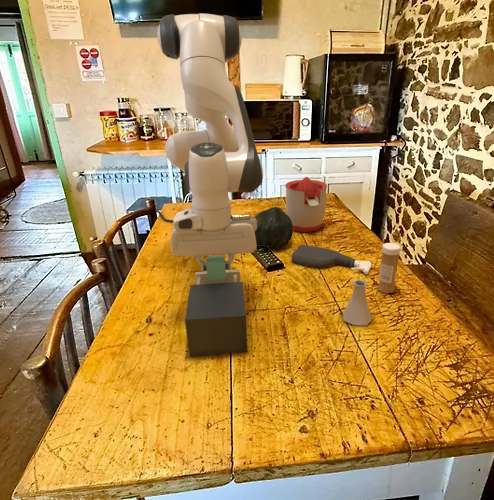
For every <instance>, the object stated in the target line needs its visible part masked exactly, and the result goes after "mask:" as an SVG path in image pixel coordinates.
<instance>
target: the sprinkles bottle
mask: <svg viewBox="0 0 494 500" xmlns="http://www.w3.org/2000/svg"><path fill="white" fill-rule="evenodd" d="M381 247H382V249H381V254H382V255H381V261H380V270H379V282H378V287H377V289H378V290H379V292H381V293H384V294H392V293H394V292H395V291H396V281H397V274H398V266H399V264H398V263H399V257H400V254H401V246H400V245H399V244H398V243H394V242H385V243H383V244H382V246H381Z"/></svg>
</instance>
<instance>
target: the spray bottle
mask: <svg viewBox="0 0 494 500" xmlns="http://www.w3.org/2000/svg"><path fill="white" fill-rule="evenodd" d="M291 262H293V263H294V264H297V265H300V266H306V267H310V268H315V269H316V268H317V269H326V268H331V267H333V266H335V265H340V266H345V267H350V270H352V271H362V272H363V274H364V275H367V274H368V273H369V272H370V270H371V268H372V262H371V261H370V260H358V259H355V258H353V257H351V256H349V255H346V254H343V253H341V252H339V251H336V250H333V249H330V248H325V247H320V246H315V245H308V244H300V245H299V246H298V247H297V248H296V249H295V250H294V251H293V252H292V254H291Z"/></svg>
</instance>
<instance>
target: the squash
mask: <svg viewBox="0 0 494 500" xmlns="http://www.w3.org/2000/svg"><path fill="white" fill-rule="evenodd" d="M254 217H255V218H256V220H257V229H256V231H255V237H256V245H257V246H258V247H264V248H268V247H270V248H276V249H281V248H284V247H285V246H287V245H288V244H289V243H290V242H291V240H292V238H293V234H294V233H293V232H294V229H293V224H292V221H291V219H290V217H289V216H288V215H287V213H286V212H285V211H284V210H283V209H282V208H281V207H278V206H274V207H270V208H267V209H264V210H262V211H260V212H258V213H256V214H255V215H254ZM262 245H263V246H262Z"/></svg>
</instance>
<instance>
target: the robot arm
mask: <svg viewBox="0 0 494 500" xmlns="http://www.w3.org/2000/svg"><path fill="white" fill-rule="evenodd" d="M156 34H157V43H158V46H159V47H160V49H161V52H162V54H163V55H164V56H165V57H167V58H169V59H172V60H175V61H177V60H179V71H180V72H179V73H180V80H181V85H182V89H183V92H184V93H183V94H184V105H185V106H184V107H185V109H186V111H187V113H188V114H189V115H190V116H191V117H193V118H195V119H196V120H199V121H202V122H203V123H204V125H205V126H204V127H205V129H202V130H200V129H199V130H187V131H181V132H177V133H174V134H171V135H169V136H168V138H167V140H166V142H165V146H164V149H165V150H164V151H165V156H166V158H167V159H168V161H169V162H170V163H171V164H172V165H173V166H175V167H176V168H177V169H179V170H181V172H183V173H184V176H185V186H186V188H187V189H188V190H189V191H190V192H191V196H192V197H191V198H192V199H191V207H189V208H187V209H184V210H181V211H179V212H177V213H175V215H174V217H173V219H168V218H165V217H164V215H163V214H162V213H161V211H160V210H159V209H156V210H155V211H154V213H158V215H159V216H160V217H161V219H162V220H163V221H165V222H168V223H172V224H173V229H172V232H171V236H170V253H171V255H172V256H174V257H175V258H181V257H195V260H196V262H197V263H198V264H199V266H200V269H201V270H200V272H207V267H206V262H207V261H204V260H203V258H202V257H203V256H220V255H228V257H229V258H228V260H225V270H232V264H233V261H234V260H235V258H236V254H251V253H255V252H256V250H257V246H258V245H256V237H255V231H256V229H257V220H256V218H255V216H253V215H251V214H248V213H247V214H232V207H231V206H232V205H231V199H230V196H229V193H243V194H246V193H247V194H253V192H254V191H256V190H257V189H259V187H260V186H261V185H262V184H263V180H264V168H263V164H262V161H261V159H260V155H259V153H258V150H257V147H256V143H255V142H256V141H255V138H254V134H253V131H252V130H253V129H252V126H251V123H250V119H249V115H248V110H247V106H246V104H245V100H244V97H243V94H242V92H241V89H239V87H237V86H235V85H234V84H233V83H232V82H231V80H230V79H229V77H228V74H227V70H226V69H227V68H226V63H228V61H229V60H232V59H234V58H235V57H237V56H238V55H239V53H240V49H241V46H242V42H243V36H242V31H241V28H240V25H239V21H238V19H236V18H235V17H233V16H230V15H226V14H223V15H219V14H218V15H217V14H211V13H201V12H200V13H187V14H186V13H185V14H178V15H175V14H174V13H173V14H166V15H164V16H162V17H161V18H160V20H159V24H158V27H157V32H156ZM227 118H228V119H229V120H230V121H231V124H232V125H231V124H230V122H229V121H228V119H227Z"/></svg>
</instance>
